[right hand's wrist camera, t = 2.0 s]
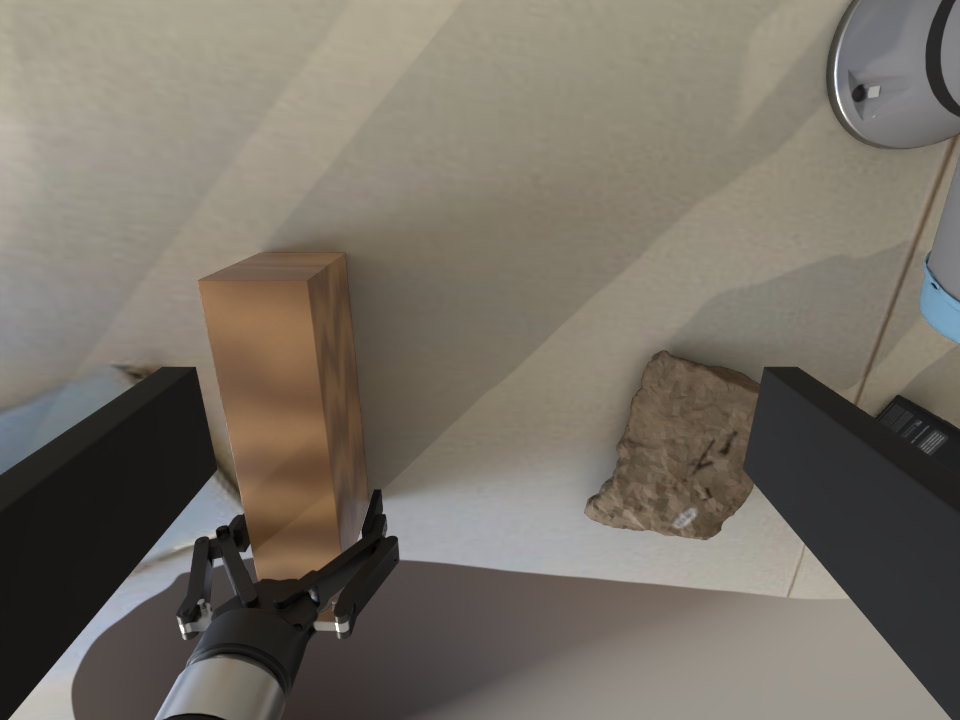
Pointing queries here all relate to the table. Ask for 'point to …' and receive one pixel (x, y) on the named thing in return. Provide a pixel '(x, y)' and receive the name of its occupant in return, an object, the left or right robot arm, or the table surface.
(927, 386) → the table surface
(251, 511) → the box
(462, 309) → the table surface
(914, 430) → the graphics card box
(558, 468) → the table surface
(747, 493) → the stone
